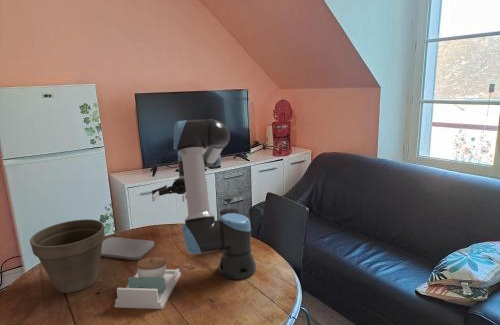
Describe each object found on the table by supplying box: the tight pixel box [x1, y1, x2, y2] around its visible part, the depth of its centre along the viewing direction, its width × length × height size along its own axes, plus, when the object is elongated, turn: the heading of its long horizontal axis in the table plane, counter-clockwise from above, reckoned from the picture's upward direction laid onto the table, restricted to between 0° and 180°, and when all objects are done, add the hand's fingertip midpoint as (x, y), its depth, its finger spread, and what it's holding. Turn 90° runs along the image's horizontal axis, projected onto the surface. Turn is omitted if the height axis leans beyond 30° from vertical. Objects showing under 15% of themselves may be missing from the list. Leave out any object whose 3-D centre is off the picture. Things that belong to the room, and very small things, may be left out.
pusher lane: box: [114, 268, 182, 310], centre depth 126 cm, size 22×17×7 cm
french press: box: [219, 198, 240, 217], centre depth 159 cm, size 12×9×23 cm
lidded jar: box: [136, 257, 167, 278], centre depth 129 cm, size 11×11×9 cm
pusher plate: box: [127, 276, 165, 292], centre depth 124 cm, size 1×13×5 cm, turn 85°
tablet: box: [100, 236, 155, 261], centre depth 159 cm, size 16×26×2 cm, turn 75°
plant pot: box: [29, 218, 106, 294], centre depth 131 cm, size 25×25×22 cm
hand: (168, 198), depth 150 cm, fingers open, 13 cm apart
